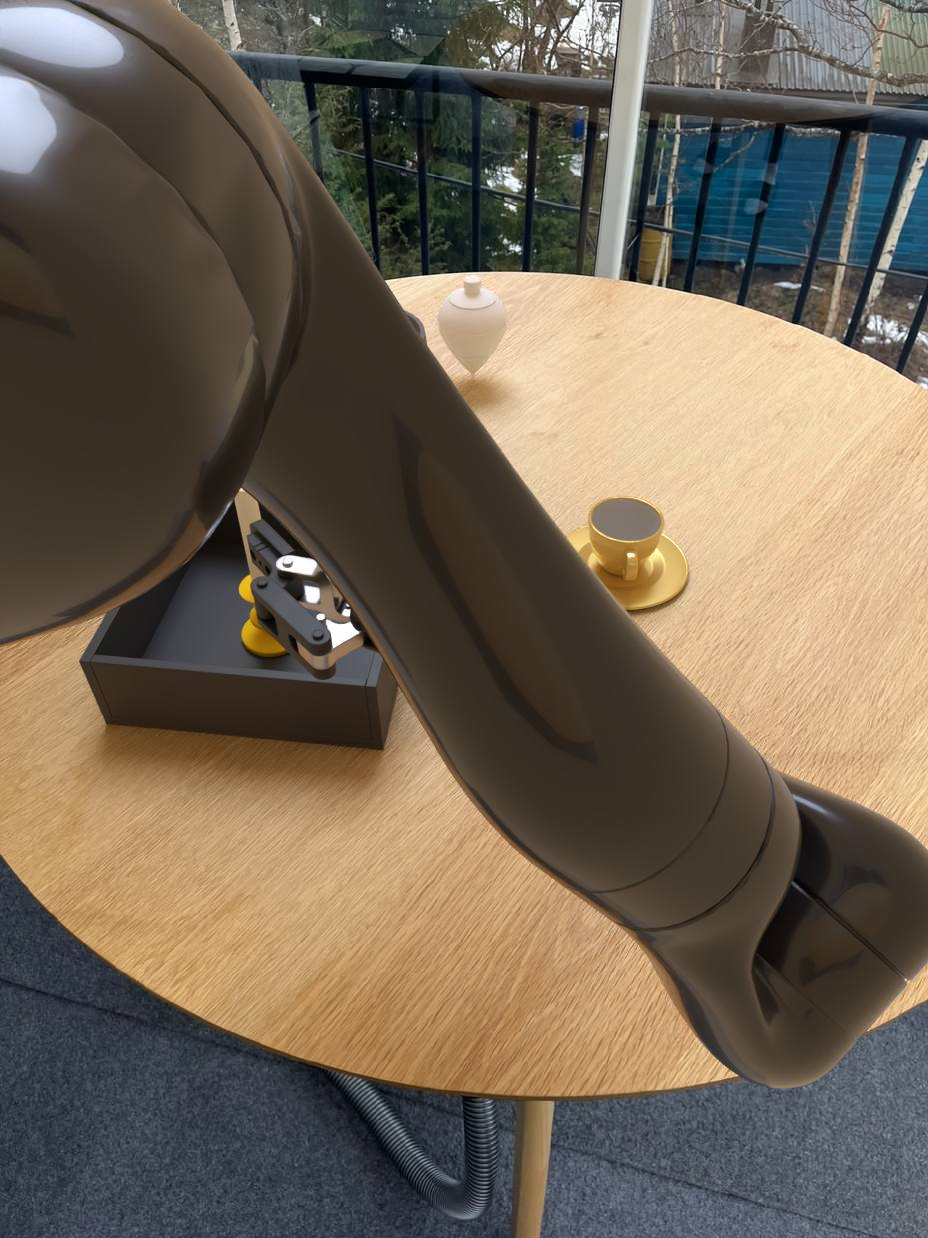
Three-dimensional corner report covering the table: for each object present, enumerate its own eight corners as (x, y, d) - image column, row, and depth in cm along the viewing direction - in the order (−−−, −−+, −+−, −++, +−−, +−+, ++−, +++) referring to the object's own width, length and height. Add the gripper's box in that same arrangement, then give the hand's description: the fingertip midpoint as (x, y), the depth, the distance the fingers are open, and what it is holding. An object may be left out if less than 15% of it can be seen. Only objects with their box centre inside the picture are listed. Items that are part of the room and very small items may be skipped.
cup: (547, 526, 88) (550, 479, 85) (674, 523, 88) (683, 476, 85) (558, 614, 80) (562, 566, 76) (699, 611, 80) (710, 563, 76)
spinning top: (443, 361, 111) (440, 261, 102) (507, 363, 110) (510, 263, 102) (436, 395, 105) (432, 293, 97) (504, 398, 105) (506, 295, 96)
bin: (105, 723, 72) (78, 661, 67) (198, 544, 87) (181, 482, 82) (383, 750, 70) (376, 687, 65) (428, 561, 85) (425, 499, 80)
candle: (285, 603, 80) (255, 449, 69) (318, 637, 77) (291, 481, 66) (230, 631, 77) (190, 475, 66) (262, 667, 74) (225, 510, 64)
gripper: (629, 548, 44) (424, 403, 53) (376, 689, 38) (194, 497, 47) (612, 658, 49) (428, 509, 58) (387, 799, 43) (221, 606, 52)
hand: (324, 504), depth 53 cm, fingers open, 8 cm apart
